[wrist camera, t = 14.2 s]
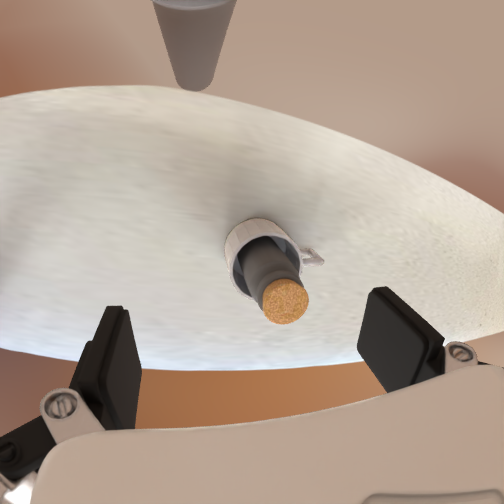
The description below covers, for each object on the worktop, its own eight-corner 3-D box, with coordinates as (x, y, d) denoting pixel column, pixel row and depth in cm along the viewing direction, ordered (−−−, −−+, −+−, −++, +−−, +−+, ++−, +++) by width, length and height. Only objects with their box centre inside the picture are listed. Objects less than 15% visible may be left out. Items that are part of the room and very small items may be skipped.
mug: (224, 280, 45) (229, 303, 38) (224, 218, 42) (229, 233, 35) (306, 275, 47) (323, 296, 41) (312, 217, 44) (331, 231, 37)
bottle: (280, 234, 43) (320, 279, 29) (273, 272, 45) (306, 329, 31) (239, 230, 42) (262, 275, 28) (234, 270, 44) (252, 328, 30)
